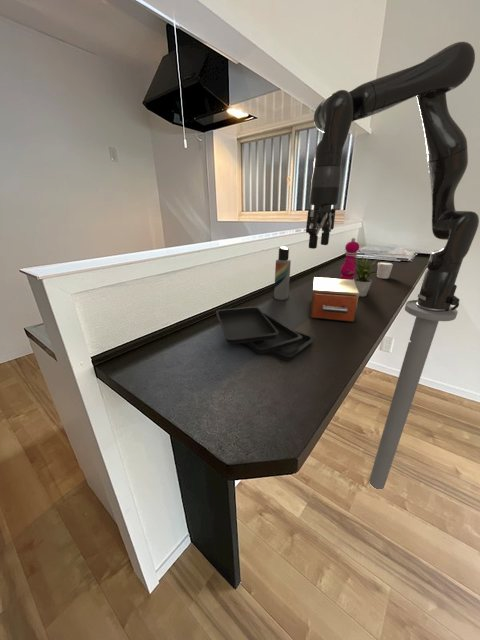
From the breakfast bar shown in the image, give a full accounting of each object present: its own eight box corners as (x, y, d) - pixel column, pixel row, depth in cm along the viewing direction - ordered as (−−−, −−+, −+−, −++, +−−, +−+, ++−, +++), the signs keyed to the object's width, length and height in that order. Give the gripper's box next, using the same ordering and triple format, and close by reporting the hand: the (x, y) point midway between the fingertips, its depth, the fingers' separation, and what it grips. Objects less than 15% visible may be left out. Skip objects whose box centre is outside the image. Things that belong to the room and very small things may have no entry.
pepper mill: (345, 277, 135) (351, 236, 127) (357, 280, 130) (365, 238, 122) (336, 279, 131) (342, 237, 123) (348, 282, 126) (356, 239, 118)
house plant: (331, 291, 114) (337, 252, 108) (356, 287, 119) (362, 250, 113) (356, 301, 102) (364, 259, 96) (382, 296, 107) (391, 256, 101)
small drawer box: (353, 322, 85) (359, 293, 81) (309, 317, 88) (312, 289, 84) (349, 305, 98) (353, 279, 95) (311, 302, 102) (314, 277, 98)
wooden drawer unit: (354, 327, 79) (359, 302, 75) (311, 323, 82) (314, 299, 79) (348, 305, 96) (352, 284, 93) (313, 302, 99) (315, 281, 96)
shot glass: (380, 279, 131) (383, 265, 129) (372, 275, 138) (375, 262, 135) (393, 278, 132) (396, 264, 129) (385, 275, 138) (388, 261, 135)
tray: (320, 336, 76) (322, 319, 74) (290, 378, 58) (291, 358, 56) (233, 315, 90) (233, 301, 88) (187, 344, 72) (185, 327, 70)
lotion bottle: (281, 294, 111) (283, 245, 102) (291, 298, 106) (294, 247, 98) (271, 297, 107) (273, 247, 99) (281, 301, 103) (284, 249, 95)
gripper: (328, 184, 65) (320, 251, 72) (347, 186, 75) (339, 244, 82) (300, 185, 70) (296, 248, 76) (322, 187, 80) (316, 242, 86)
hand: (318, 246), depth 79 cm, fingers open, 8 cm apart
